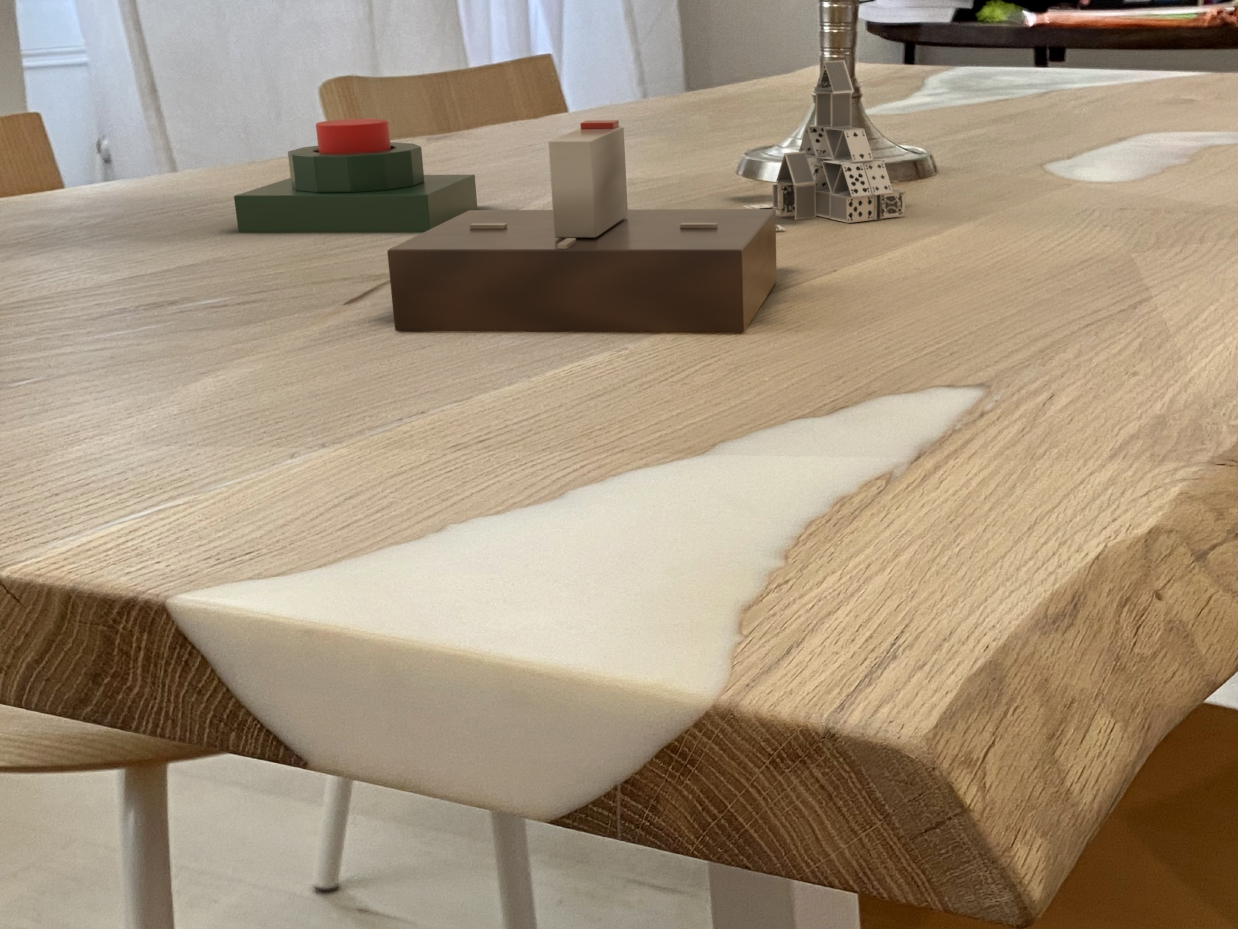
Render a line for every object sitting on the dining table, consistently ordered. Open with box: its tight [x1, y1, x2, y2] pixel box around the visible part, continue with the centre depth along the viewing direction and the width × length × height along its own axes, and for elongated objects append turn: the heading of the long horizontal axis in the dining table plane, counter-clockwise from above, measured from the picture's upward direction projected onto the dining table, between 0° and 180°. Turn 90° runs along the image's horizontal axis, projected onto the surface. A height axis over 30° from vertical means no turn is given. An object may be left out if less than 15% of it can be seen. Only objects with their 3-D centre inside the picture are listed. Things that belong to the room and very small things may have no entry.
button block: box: [233, 141, 478, 234], centre depth 83 cm, size 10×8×4 cm
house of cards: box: [743, 59, 906, 231], centre depth 84 cm, size 9×9×8 cm
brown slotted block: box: [386, 208, 778, 334], centre depth 63 cm, size 13×10×3 cm
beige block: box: [548, 119, 629, 238], centre depth 62 cm, size 6×2×4 cm, turn 172°
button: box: [315, 118, 391, 153], centre depth 83 cm, size 4×4×2 cm
